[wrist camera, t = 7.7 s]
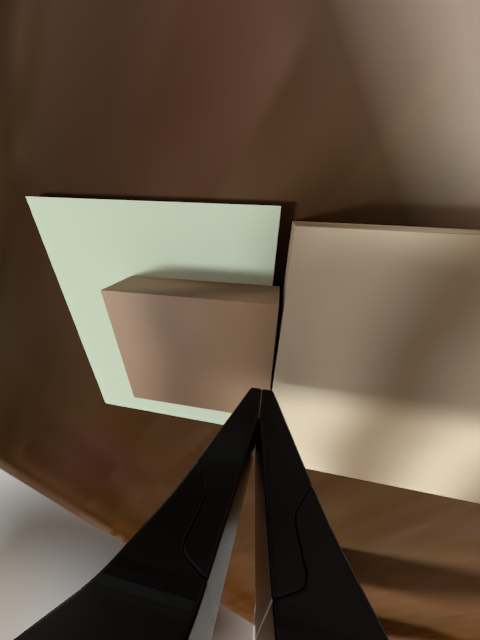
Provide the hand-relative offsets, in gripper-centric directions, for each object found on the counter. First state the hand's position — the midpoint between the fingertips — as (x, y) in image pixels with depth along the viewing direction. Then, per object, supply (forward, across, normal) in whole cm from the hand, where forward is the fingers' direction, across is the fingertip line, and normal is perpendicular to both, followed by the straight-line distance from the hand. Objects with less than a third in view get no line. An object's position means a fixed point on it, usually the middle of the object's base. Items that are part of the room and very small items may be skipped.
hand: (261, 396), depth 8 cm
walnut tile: (+3, +3, 0) cm, 4 cm away
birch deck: (+4, -6, 0) cm, 7 cm away
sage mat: (+4, +6, 0) cm, 7 cm away
